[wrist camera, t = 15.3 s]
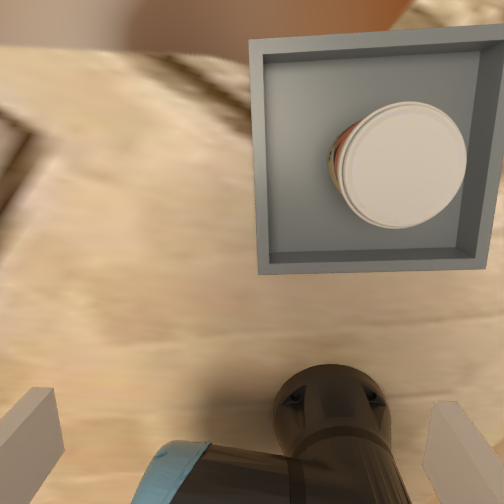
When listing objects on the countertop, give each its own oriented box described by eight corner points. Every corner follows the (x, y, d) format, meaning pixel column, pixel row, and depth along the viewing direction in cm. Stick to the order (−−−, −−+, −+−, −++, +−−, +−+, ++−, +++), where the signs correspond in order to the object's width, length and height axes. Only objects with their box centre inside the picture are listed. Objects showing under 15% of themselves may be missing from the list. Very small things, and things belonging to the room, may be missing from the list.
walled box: (460, 254, 41) (485, 269, 36) (259, 259, 42) (258, 274, 38) (489, 38, 35) (524, 22, 30) (251, 53, 36) (248, 39, 31)
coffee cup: (368, 92, 36) (415, 69, 24) (427, 159, 37) (498, 167, 26) (300, 162, 38) (314, 170, 26) (359, 222, 39) (396, 255, 28)
